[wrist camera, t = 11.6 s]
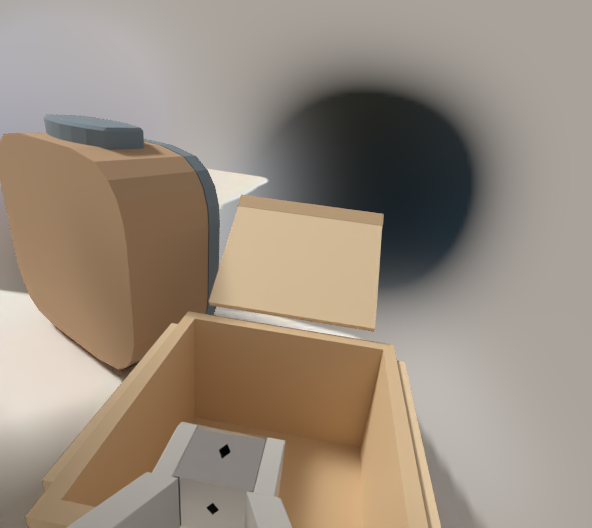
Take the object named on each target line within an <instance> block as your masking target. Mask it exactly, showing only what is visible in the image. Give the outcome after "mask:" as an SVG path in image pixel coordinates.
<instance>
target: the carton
mask: <svg viewBox="0 0 592 528" xmlns="http://www.w3.org/2000/svg"><path fill="white" fill-rule="evenodd" d="M181 422H186V423H191V424H196V425H202V426H207V427H212V428H216V429H221V430H226V431H231V432H233V431H234V432H240V433H246V434H252V435H258V436H264V437H267V438H274V439H279V440H285V451H284V459H283V467H282V474H281V482H280V489H279V495H278V497H279V498H281V500H282V503H283V505H284V508H285V510H286V513H287V515H288V518H289V520H290V523H291V525H292V528H441V524H440V520H439V515H438V511H437V506H436V502H435V497H434V492H433V488H432V483H431V479H430V474H429V470H428V465H427V461H426V456H425V452H424V447H423V443H422V438H421V433H420V429H419V424H418V420H417V415H416V411H415V406H414V402H413V397H412V393H411V388H410V384H409V379H408V374H407V370H406V366H405V362H402V361H397V359H396V354H395V348H394V345H391V344H386V343H379V342H373V341H367V340H361V339H355V338H349V337H343V336H337V335H331V334H324V333H318V332H312V331H306V330H300V329H294V328H288V327H282V326H275V325H269V324H263V323H257V322H251V321H245V320H239V319H233V318H226V317H220V316H214V315H208V314H202V313H196V312H190V311H188V312H187V313H186V315H185V316H184V317H183V318H182V320H181V321H180V322H179V323H178V324H174V323H171V324H170V325H169V327H168V328H167V329H166V330H165V332H164V333H163V334H162V335H161V336H160V338H159V339H158V340H157V341H156V342H155V344H154V345H153V346H152V347H151V348H150V350H149V351H148V352H147V353H146V354H145V356H144V357H143V358H142V359H141V360H140V362H139V363H138V364H137V365H136V366H135V368H134V369H133V370H132V371H131V372H130V374H129V375H128V376H127V377H126V378H125V380H124V381H123V382H122V383H121V384H120V386H119V387H118V388H117V389H116V391H115V392H114V393H113V394H112V395H111V397H110V398H109V399H108V400H107V401H106V403H105V404H104V405H103V406H102V407H101V409H100V410H99V411H98V412H97V413H96V415H95V416H94V417H93V418H92V419H91V421H90V422H89V423H88V424H87V425H86V427H85V428H84V429H83V430H82V431H81V433H80V434H79V435H78V436H77V437H76V439H75V440H74V441H73V442H72V443H71V445H70V446H69V447H68V448H67V449H66V451H65V452H64V453H63V454H62V456H61V457H60V458H59V459H58V460H57V462H56V463H55V464H54V465H53V466H52V468H51V469H50V470H49V471H48V472H47V474H46V475H45V476H44V477H43V478H42V483H43V487H44V491H45V492H44V493H43V494H42V496H41V497H40V498H39V499H38V501H37V502H36V503H35V504H34V506H33V507H32V508H31V509H30V511H29V512H28V513H27V514H26V516H25V519H26V522H27V526H28V528H66V527H68V526H69V525H70V524H72V523H73V522H75V521H76V520H78V519H79V518H81V517H82V516H84V515H85V514H86V513H88V512H89V511H91V510H92V509H94V508H95V507H97V506H98V505H99V504H101V503H102V502H104V501H105V500H107V499H108V498H110V497H111V496H113V495H114V494H115V493H117V492H118V491H120V490H121V489H123V488H124V487H126V486H127V485H129V484H130V483H131V482H133V481H134V480H136V479H137V478H139V477H140V476H142V475H143V474H144V473H146V472H150V473H152V472H153V470H154V468H155V466H156V465H157V463H158V461H159V459H160V457H161V455H162V454H163V452H164V450H165V448H166V446H167V444H168V442H169V441H170V439H171V437H172V435H173V433H174V431H175V430H176V428H177V426H178V425H179V424H180V423H181ZM180 528H186V527H180Z"/></svg>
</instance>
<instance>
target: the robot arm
mask: <svg viewBox="0 0 592 528" xmlns="http://www.w3.org/2000/svg"><path fill="white" fill-rule="evenodd" d="M284 451H285V440H279V439H274V438H267V437H264V436H258V435H252V434H246V433H240V432H234V431H233V432H231V431H226V430H221V429H216V428H212V427H207V426H202V425H196V424H191V423H186V422H181V423H180V424H179V425H178V426H177V428H176V430H175V431H174V433H173V435H172V437H171V439H170V441H169V442H168V444H167V446H166V448H165V450H164V452H163V454H162V455H161V457H160V459H159V461H158V463H157V465H156V466H155V468H154V470H153V472H152V473H150V472H146V473H144V474H143V475H142V476H140V477H139V478H137V479H136V480H134V481H133V482H131V483H130V484H129V485H127V486H126V487H124V488H123V489H121V490H120V491H118V492H117V493H115V494H114V495H113V496H111V497H110V498H108V499H107V500H105V501H104V502H102V503H101V504H99V505H98V506H97V507H95V508H94V509H92V510H91V511H89V512H88V513H86V514H85V515H84V516H82V517H81V518H79V519H78V520H76V521H75V522H73V523H72V524H70V525H69V526H68V527H66V528H180V527H186V528H292V525H291V523H290V520H289V518H288V515H287V513H286V510H285V508H284V505H283V503H282V500H281V498H279V497H278V495H279V489H280V482H281V474H282V467H283V459H284Z"/></svg>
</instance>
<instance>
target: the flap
mask: <svg viewBox="0 0 592 528" xmlns="http://www.w3.org/2000/svg"><path fill="white" fill-rule="evenodd" d="M382 226H383V214H380V213H372V212H365V211H357V210H350V209H342V208H335V207H327V206H321V205H313V204H306V203H299V202H291V201H284V200H276V199H269V198H262V197H254V196H247V195H241V197H240V200H239V204H238V209H237V212H236V216H235V219H234V222H233V225H232V228H231V231H230V235H229V238H228V241H227V244H226V248H225V251H224V254H223V257H222V260H221V263H220V267H219V270H218V273H217V276H216V279H215V283H214V286H213V289H212V292H211V295H210V299H209V304H210V305H212V306H218V307H224V308H231V309H237V310H243V311H249V312H255V313H261V314H268V315H274V316H280V317H286V318H292V319H299V320H305V321H311V322H317V323H323V324H330V325H336V326H342V327H349V328H355V329H361V330H368V331H374V330H375V322H376V308H377V292H378V278H379V263H380V248H381V233H382Z"/></svg>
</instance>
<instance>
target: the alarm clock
mask: <svg viewBox="0 0 592 528" xmlns="http://www.w3.org/2000/svg"><path fill="white" fill-rule="evenodd" d="M44 121H45V127H46V133H10V134H4V135H3V136H2V138H1V140H0V182H1V188H2V193H3V197H4V202H5V207H6V212H7V216H8V221H9V226H10V230H11V235H12V239H13V244H14V249H15V254H16V258H17V261H18V266H19V269H20V272H21V275H22V278H23V281H24V284H25V286H26V288H27V291H28V293H29V295H30V297H31V299H32V300H33V302H34V303H35V305H36V306H37V308H38V309H39V311H40V312H41V313H42V314H43V315H44V316H45V317H46V318H47V319H48V320H49V321H50V322H51V323H52V324H53V325H54V326H56V327H57V328H58V329H60V330H61V331H62V332H64V333H65V334H66V335H68V336H69V337H70V338H71V339H73V340H74V341H75V342H77V343H78V344H79V345H81V346H82V347H83V348H84V349H86V350H87V351H88V352H90V353H91V354H92V355H94V356H95V357H96V358H98V359H99V360H101V361H103V362H105V363H107V364H108V365H110V366H112V367H114V368H116V369H117V370H118V371H121V370H123V369H125V368H127V367H129V366H130V365H132V364H134V363H136V362H138V361H140V360H141V359H142V358H143V357H144V356H145V354H146V353H147V352H148V351H149V350H150V348H151V347H152V346H153V345H154V344H155V342H156V341H157V340H158V339H159V338H160V336H161V335H162V334H163V333H164V332H165V330H166V329H167V328H168V327H169V325H170V324H171V323H174V324H178V323H179V322H180V321H181V320H182V318H183V317H184V316H185V315H186V313H187V312H188V311H190V312H196V313H202V314H208V315H213V314H214V312H215V309H216V306H212V305H210V304H209V299H210V295H211V292H212V289H213V286H214V283H215V279H216V276H217V273H218V270H219V227H220V223H219V222H220V220H219V204H218V199H217V194H216V189H215V186H214V183H213V181H212V179H211V177H210V175H209V172H208V170H207V169H206V168H205V167H204V166H203V164H202V163H201V162H200V161H199V159H198V158H197V157H196V156H194V155H192V154H190V153H188V152H186V151H184V150H181V149H179V148H177V147H175V146H173V145H169V144H165V143H160V142H156V141H152V140H147V139H143V130H142V129H141V128H139V127H136V126H133V125H130V124H126V123H121V122H116V121H111V120H105V119H99V118H93V117H86V116H75V115H46V116H45V117H44Z"/></svg>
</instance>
